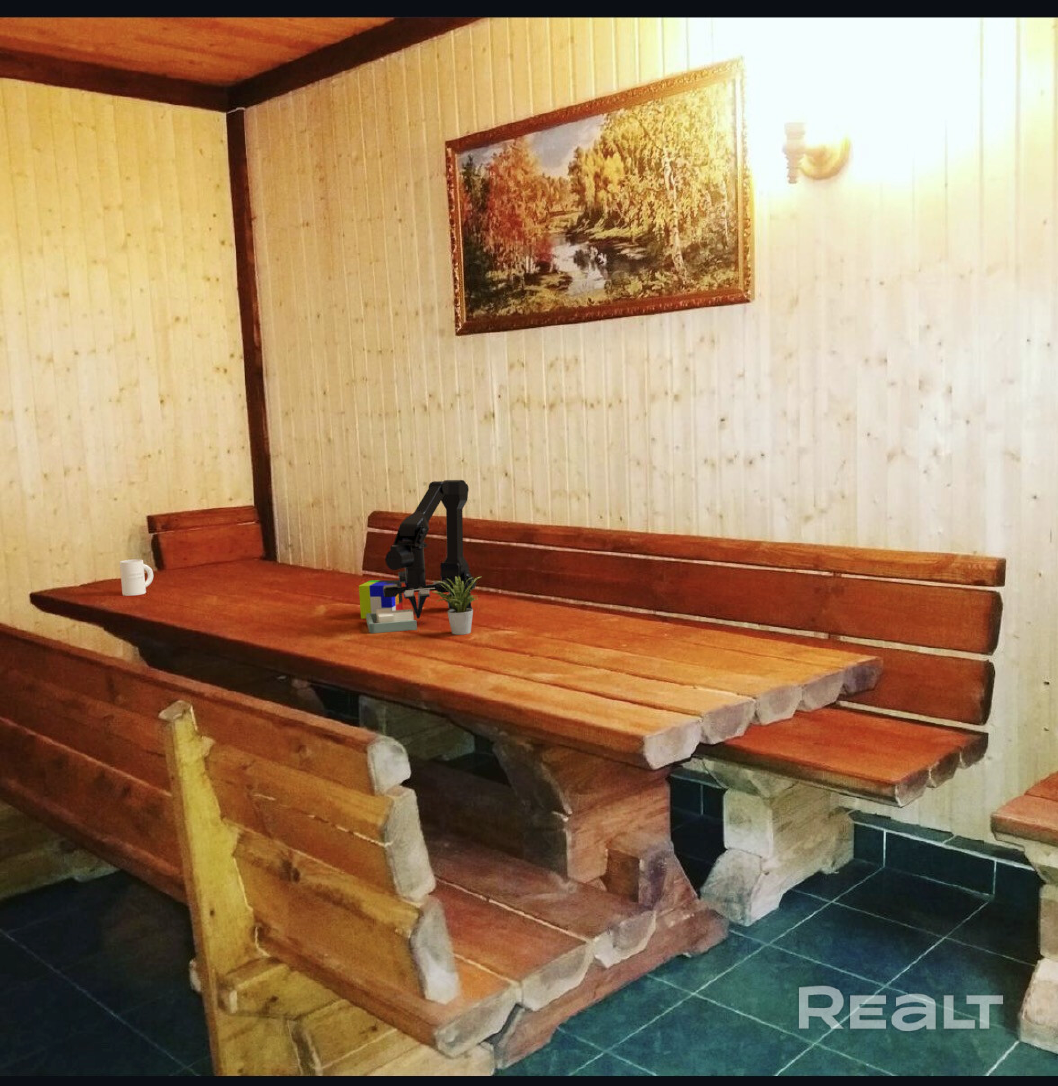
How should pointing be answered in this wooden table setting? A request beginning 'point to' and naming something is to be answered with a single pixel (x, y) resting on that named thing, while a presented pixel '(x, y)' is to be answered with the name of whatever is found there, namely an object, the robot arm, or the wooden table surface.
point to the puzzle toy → (378, 597)
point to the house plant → (459, 606)
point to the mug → (134, 577)
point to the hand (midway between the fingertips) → (418, 618)
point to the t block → (394, 615)
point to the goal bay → (388, 625)
